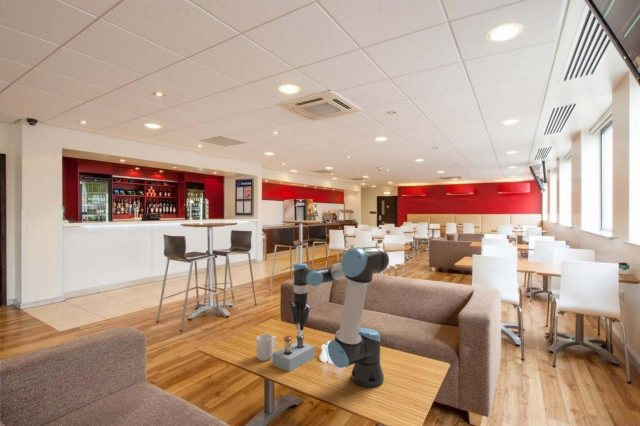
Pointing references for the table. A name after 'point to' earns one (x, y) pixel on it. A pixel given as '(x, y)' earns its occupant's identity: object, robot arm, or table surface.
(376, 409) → the table surface
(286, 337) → the brass plug
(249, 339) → the table surface
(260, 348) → the mug
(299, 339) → the dark plug
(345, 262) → the robot arm
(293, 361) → the block
